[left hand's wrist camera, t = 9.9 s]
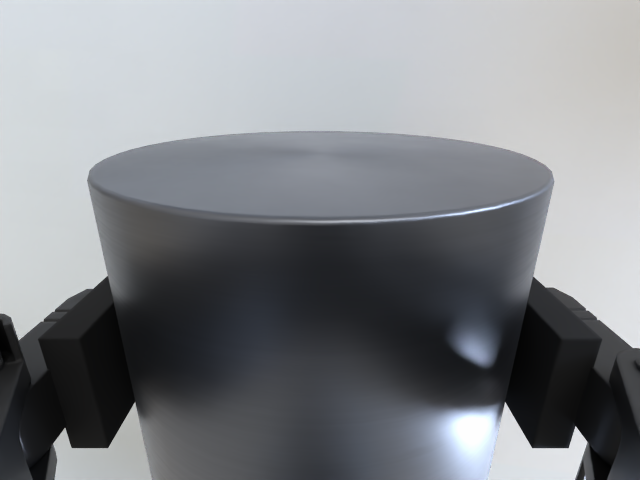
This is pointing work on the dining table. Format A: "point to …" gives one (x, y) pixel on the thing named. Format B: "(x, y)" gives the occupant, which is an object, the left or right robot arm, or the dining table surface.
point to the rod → (320, 300)
